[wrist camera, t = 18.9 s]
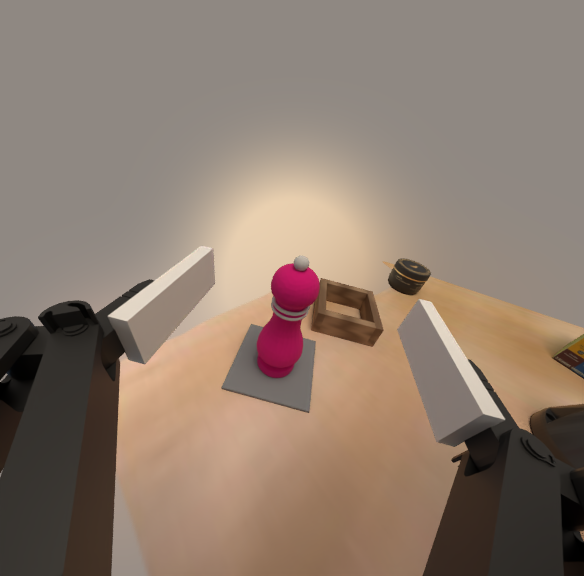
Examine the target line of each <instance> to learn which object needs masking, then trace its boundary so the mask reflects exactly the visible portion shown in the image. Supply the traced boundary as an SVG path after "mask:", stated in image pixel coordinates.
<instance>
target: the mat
mask: <svg viewBox="0 0 584 576" xmlns="http://www.w3.org/2000/svg"><path fill="white" fill-rule="evenodd" d="M262 329H263V327H260V326H257V325H253V324H251V325H250V327H249V330H248V332H247V334H246V336H245V338H244V340H243V343H242V345H241V347H240V349H239V351H238V353H237V355H236V358H235V360H234V362H233V364H232V366H231V368H230V370H229V373H228V375H227V377H226V379H225V381H224V383H223V386H222V389H224V390H228V391H232V392H235V393H239V394H243V395H246V396H250V397H253V398H257V399H261V400H264V401H268V402H272V403H275V404H279V405H283V406H286V407H290V408H293V409H297V410H301V411H304V412H308V413H309V411H310V400H311V388H312V377H313V366H314V354H315V343H316V341H312V340H309V339H305V338H303V350H302V354H301V357H300V358H299V360H298V361H297V362H296V363H295V364H294V367H293V369H292V371H291V372H290V373H289V374H288V375H287V376H285V377H282V378H272V377H269V376H267V375H265V374H264V373H263V372H262V371H261V370H260V368H259V366H258V363H257V358H258V351H257V340H258V337H259V334H260V332H261V331H262Z"/></svg>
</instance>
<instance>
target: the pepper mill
mask: <svg viewBox="0 0 584 576" xmlns="http://www.w3.org/2000/svg"><path fill="white" fill-rule="evenodd" d="M308 266H309V260H308V258H307V257H305V256H298V257H296V258H295V260H294V263H293V264H287V265H284V266H282V267H281V268H279V269H278V270H277V271H276V273H275V274H274V276H273V279H272V282H271V290H272V293H273V295H274V296H273V298H272V303H271V307H272V310H273V316H272V318H271V320H270V321H269V322H268V323H267V324H266V325H265V326H264V327H263V329H262V331H261V332H260V334H259V337H258V340H257V351H258V358H257V363H258V366H259V368H260V370H261V371H262V372H263V373H264V374H265V375H267V376H269V377H272V378H282V377H285V376H287V375H288V374H289V373H290V372H291V371H292V369H293V367H294V364H295V363H296V362H297V361H298V360H299V358H300V357H301V354H302V350H303V337H302V333H301V330H300V325H301V321H302V319H303V318H305V317H306V315H307V314H308V310H309V308H310V305H311V304H313V302H314V301H315V300H316V299H317V297H318V294H319V289H320V284H319V279H318V277H317V275H316V274H315V272H314V271H313V270H311V269H310V268H309V267H308Z"/></svg>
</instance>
